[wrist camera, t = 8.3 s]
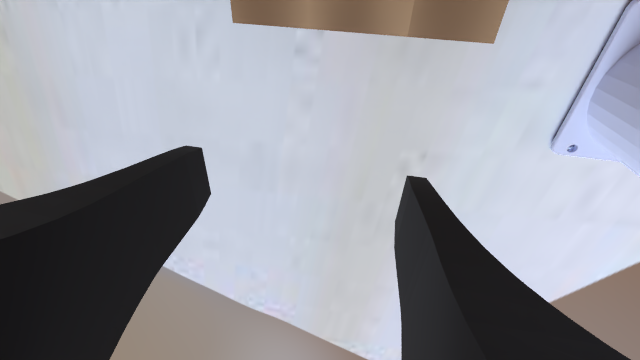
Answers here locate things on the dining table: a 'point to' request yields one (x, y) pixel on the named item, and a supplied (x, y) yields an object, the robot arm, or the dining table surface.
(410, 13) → the socket
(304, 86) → the dining table surface
